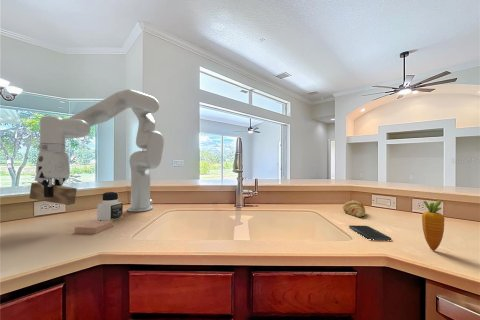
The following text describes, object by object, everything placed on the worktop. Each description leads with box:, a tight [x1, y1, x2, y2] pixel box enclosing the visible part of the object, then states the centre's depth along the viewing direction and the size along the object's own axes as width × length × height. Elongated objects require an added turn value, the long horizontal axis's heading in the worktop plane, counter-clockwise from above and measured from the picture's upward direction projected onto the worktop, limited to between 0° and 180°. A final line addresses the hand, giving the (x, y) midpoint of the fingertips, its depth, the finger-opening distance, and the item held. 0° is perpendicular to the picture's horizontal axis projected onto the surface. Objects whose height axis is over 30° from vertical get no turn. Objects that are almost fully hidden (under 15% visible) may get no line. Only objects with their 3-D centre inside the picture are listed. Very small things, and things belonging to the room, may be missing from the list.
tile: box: [74, 220, 114, 235], centre depth 82 cm, size 3×9×8 cm
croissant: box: [342, 199, 366, 218], centre depth 112 cm, size 21×10×8 cm, turn 169°
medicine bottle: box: [96, 191, 124, 222], centre depth 98 cm, size 7×7×12 cm
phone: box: [348, 225, 392, 241], centre depth 80 cm, size 8×1×15 cm
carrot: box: [421, 200, 445, 251], centre depth 64 cm, size 5×5×15 cm
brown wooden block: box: [29, 181, 78, 206], centre depth 84 cm, size 16×3×6 cm, turn 86°
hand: (52, 195), depth 84 cm, fingers closed on brown wooden block, 2 cm apart
